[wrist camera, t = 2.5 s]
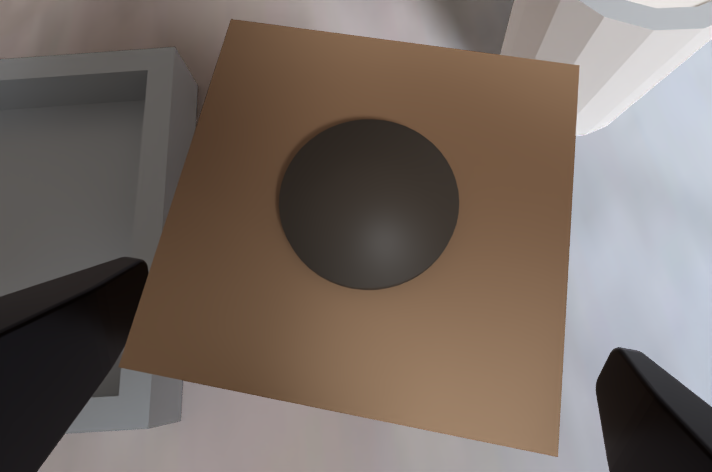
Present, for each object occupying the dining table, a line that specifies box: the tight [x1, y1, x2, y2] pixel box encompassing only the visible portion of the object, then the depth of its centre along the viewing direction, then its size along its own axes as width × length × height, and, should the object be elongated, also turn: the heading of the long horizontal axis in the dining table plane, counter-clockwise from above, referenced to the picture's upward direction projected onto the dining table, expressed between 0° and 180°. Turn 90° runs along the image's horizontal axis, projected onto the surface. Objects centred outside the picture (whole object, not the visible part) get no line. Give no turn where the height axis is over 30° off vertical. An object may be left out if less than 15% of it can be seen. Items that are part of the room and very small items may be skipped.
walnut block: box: [118, 19, 580, 457], centre depth 11 cm, size 4×4×13 cm
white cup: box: [500, 0, 712, 136], centre depth 17 cm, size 7×7×7 cm
